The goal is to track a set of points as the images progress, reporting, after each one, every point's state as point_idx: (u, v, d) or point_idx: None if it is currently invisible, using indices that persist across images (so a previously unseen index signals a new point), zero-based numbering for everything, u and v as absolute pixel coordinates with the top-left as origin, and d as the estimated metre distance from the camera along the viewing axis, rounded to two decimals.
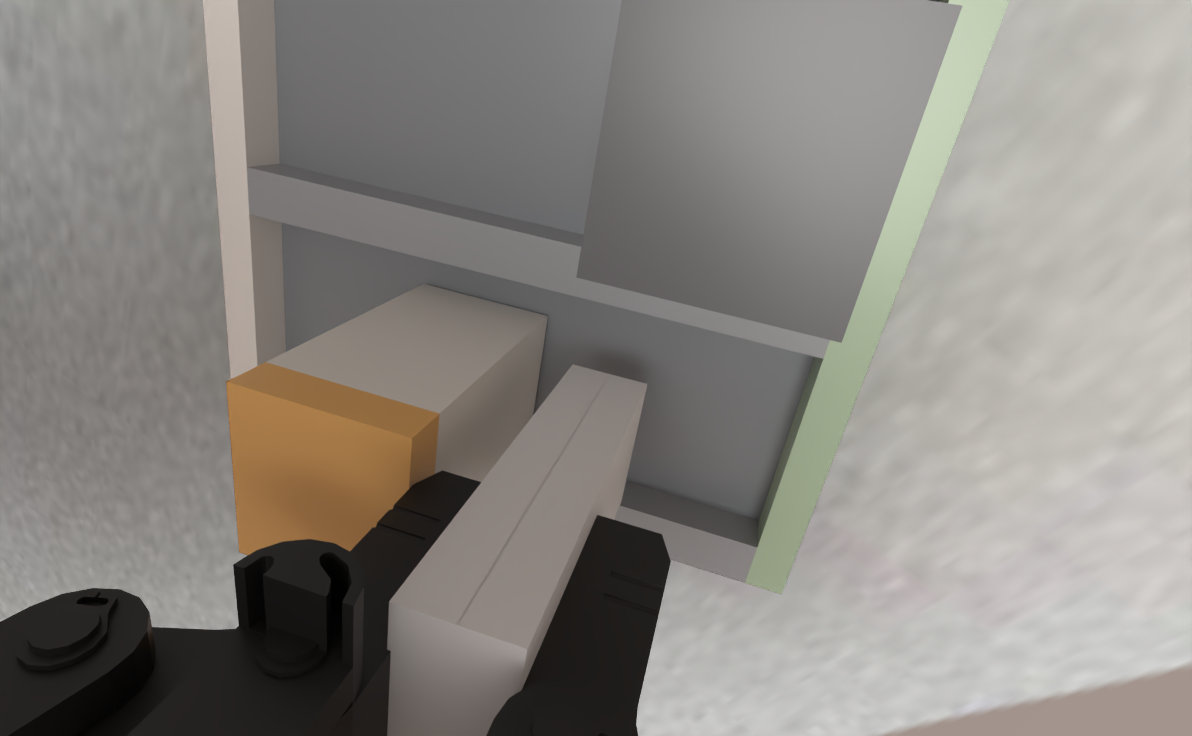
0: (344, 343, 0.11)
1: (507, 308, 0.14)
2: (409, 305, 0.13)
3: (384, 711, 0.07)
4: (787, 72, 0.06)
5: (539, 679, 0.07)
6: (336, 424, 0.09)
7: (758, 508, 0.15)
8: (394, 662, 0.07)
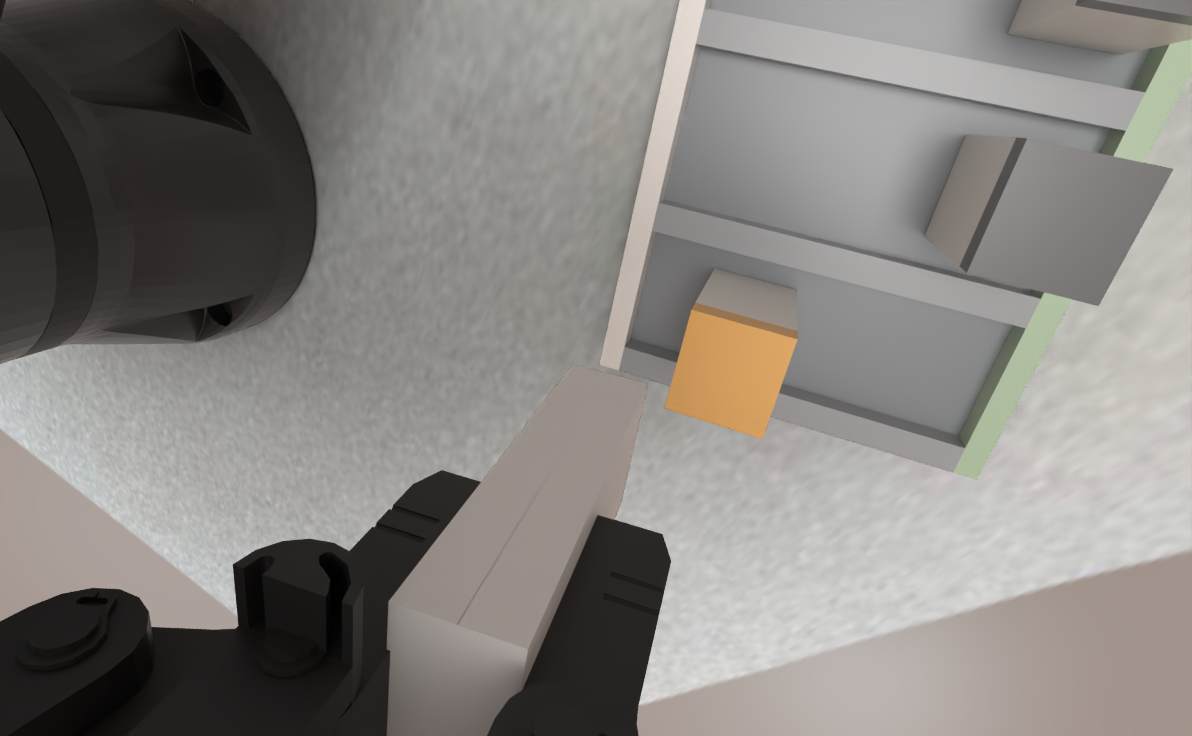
0: (717, 296, 0.20)
1: (772, 285, 0.23)
2: (722, 279, 0.22)
3: (384, 711, 0.07)
4: (1091, 189, 0.15)
5: (540, 679, 0.07)
6: (753, 332, 0.18)
7: (959, 427, 0.23)
8: (393, 661, 0.07)
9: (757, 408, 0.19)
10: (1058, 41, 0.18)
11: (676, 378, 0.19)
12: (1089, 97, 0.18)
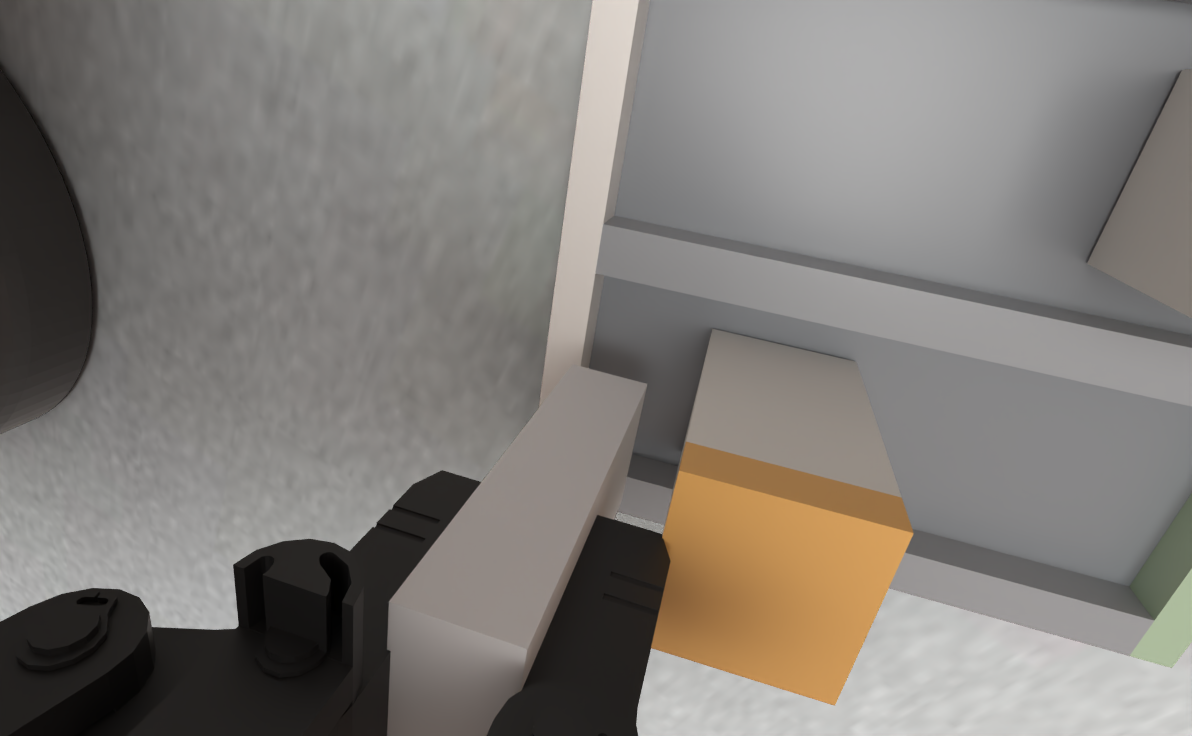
0: (727, 412, 0.10)
1: (814, 355, 0.13)
2: (729, 357, 0.12)
3: (384, 711, 0.07)
4: None
5: (539, 679, 0.07)
6: (815, 517, 0.08)
7: (1132, 574, 0.14)
8: (394, 661, 0.07)
9: (824, 654, 0.09)
10: None
11: None
12: None
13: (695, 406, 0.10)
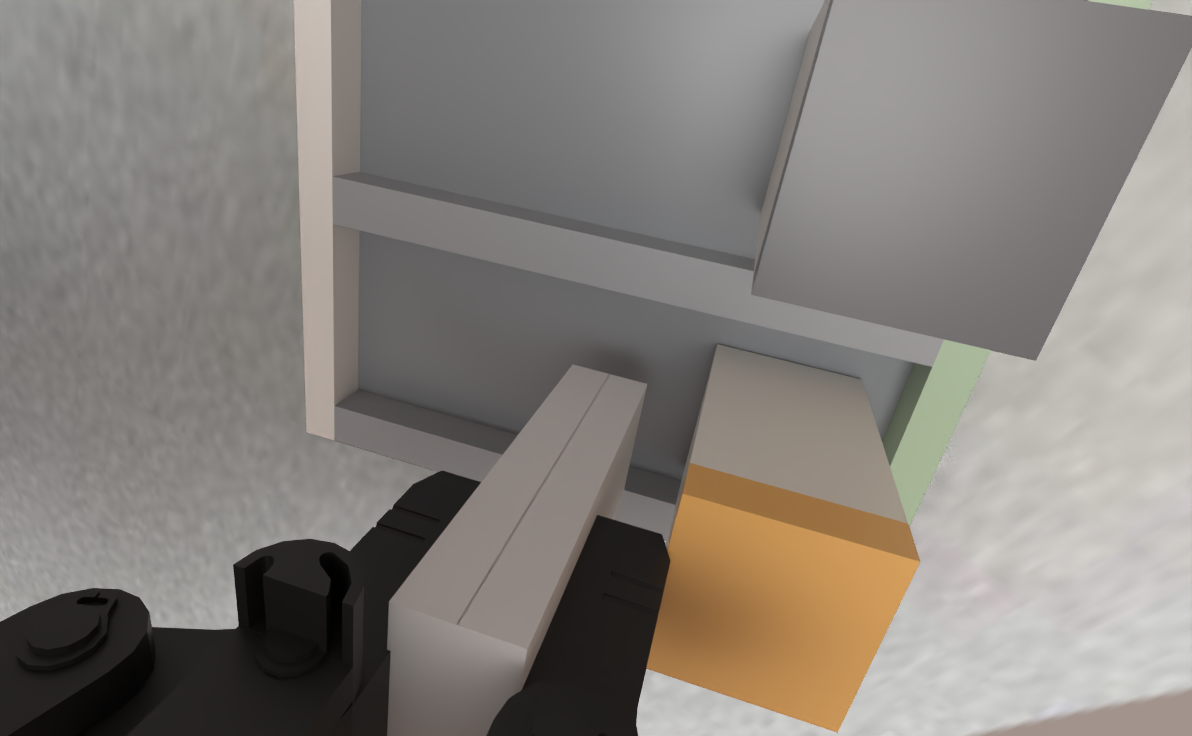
0: (731, 431, 0.10)
1: (819, 372, 0.13)
2: (734, 374, 0.12)
3: (384, 711, 0.07)
4: (1005, 86, 0.06)
5: (539, 679, 0.07)
6: (820, 543, 0.08)
7: None
8: (394, 662, 0.07)
9: (827, 680, 0.09)
10: None
11: None
12: None
13: (699, 426, 0.10)
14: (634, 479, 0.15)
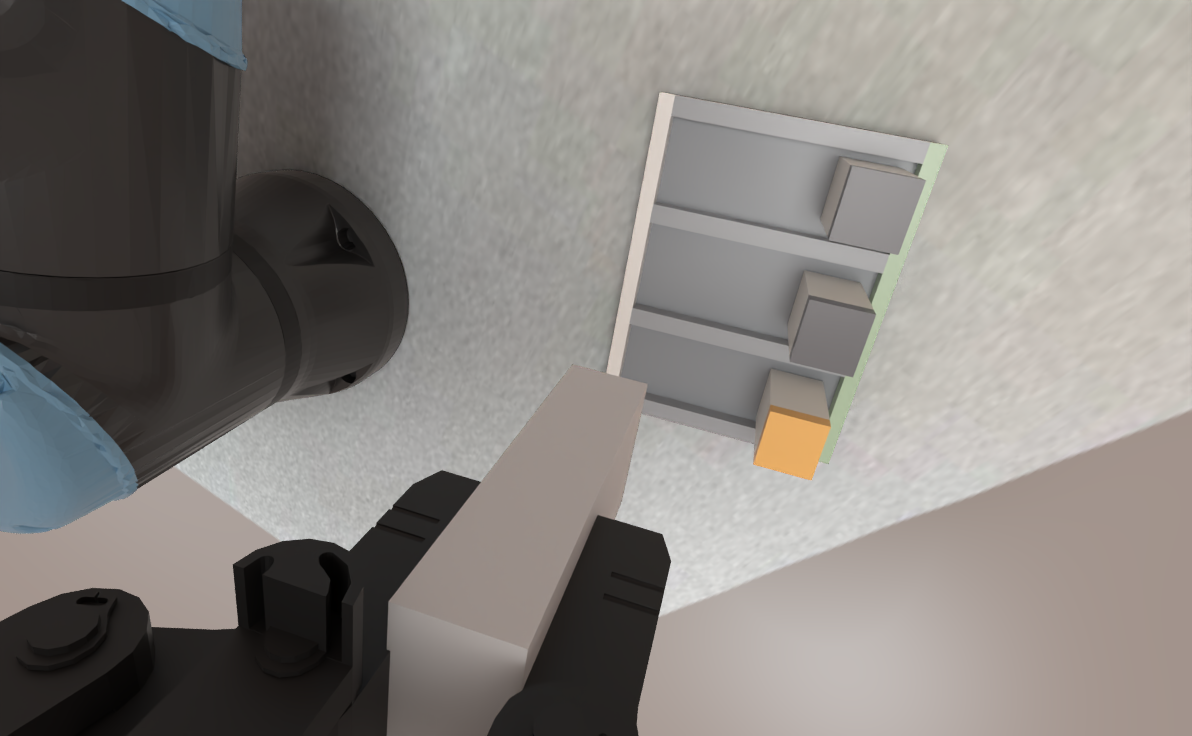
0: (780, 397, 0.34)
1: (807, 378, 0.37)
2: (778, 379, 0.36)
3: (384, 711, 0.07)
4: (841, 323, 0.30)
5: (540, 679, 0.07)
6: (806, 423, 0.32)
7: None
8: (393, 661, 0.07)
9: (808, 463, 0.33)
10: None
11: (760, 448, 0.33)
12: (862, 256, 0.33)
13: (770, 395, 0.34)
14: (736, 419, 0.39)
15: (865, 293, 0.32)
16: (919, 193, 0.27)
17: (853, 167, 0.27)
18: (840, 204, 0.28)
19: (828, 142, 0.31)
